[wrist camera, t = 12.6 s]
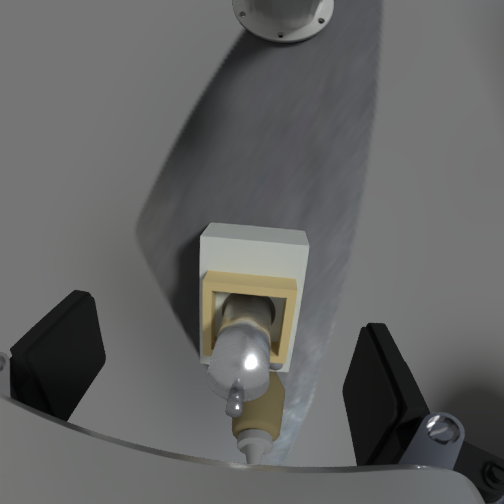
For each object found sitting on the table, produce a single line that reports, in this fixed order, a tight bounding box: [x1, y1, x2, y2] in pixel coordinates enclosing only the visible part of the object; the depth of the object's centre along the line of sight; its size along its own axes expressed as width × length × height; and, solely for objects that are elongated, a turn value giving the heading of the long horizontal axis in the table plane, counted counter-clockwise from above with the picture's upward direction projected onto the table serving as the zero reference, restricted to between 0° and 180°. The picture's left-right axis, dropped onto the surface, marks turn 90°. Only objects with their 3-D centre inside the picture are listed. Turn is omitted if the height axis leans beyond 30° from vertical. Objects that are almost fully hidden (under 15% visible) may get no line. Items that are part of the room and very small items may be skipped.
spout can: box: [207, 294, 271, 417], centre depth 30 cm, size 6×6×14 cm
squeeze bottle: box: [232, 371, 285, 465], centre depth 40 cm, size 8×8×18 cm
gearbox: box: [199, 223, 309, 372], centre depth 39 cm, size 18×12×9 cm, turn 176°
